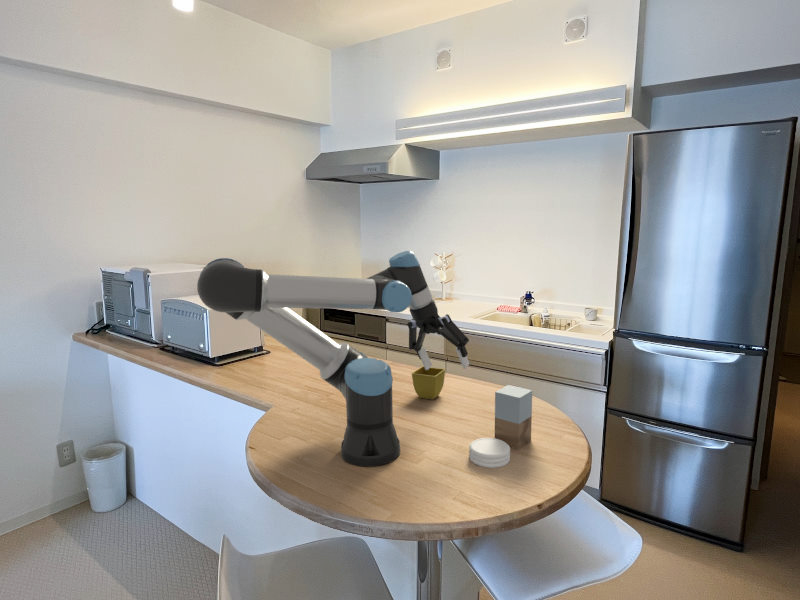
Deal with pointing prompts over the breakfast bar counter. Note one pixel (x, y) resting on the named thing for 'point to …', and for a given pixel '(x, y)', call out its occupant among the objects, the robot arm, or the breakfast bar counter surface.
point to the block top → (513, 404)
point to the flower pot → (428, 382)
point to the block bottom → (513, 432)
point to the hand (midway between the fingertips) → (447, 367)
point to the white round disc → (489, 452)
